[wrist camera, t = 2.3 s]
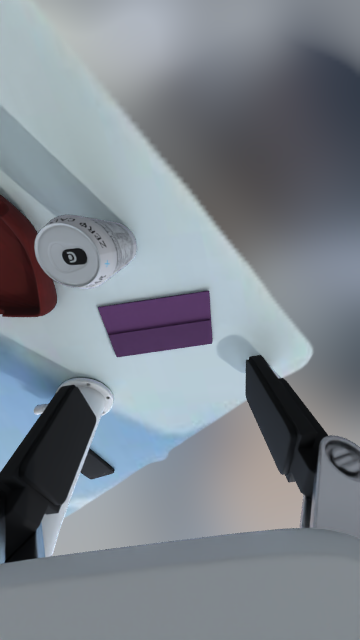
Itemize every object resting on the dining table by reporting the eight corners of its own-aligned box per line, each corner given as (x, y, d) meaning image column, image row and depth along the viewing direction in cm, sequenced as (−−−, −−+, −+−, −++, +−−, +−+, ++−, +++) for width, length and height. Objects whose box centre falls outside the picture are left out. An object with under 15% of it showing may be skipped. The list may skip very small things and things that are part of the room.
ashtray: (30, 332, 33) (9, 348, 29) (-70, 262, 27) (-118, 268, 22) (93, 272, 29) (79, 280, 24) (-9, 172, 23) (-53, 157, 18)
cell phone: (80, 440, 49) (78, 444, 48) (115, 469, 57) (114, 473, 56) (54, 449, 50) (52, 452, 49) (91, 476, 58) (90, 479, 57)
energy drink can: (93, 224, 26) (9, 216, 12) (134, 220, 26) (95, 209, 12) (104, 266, 28) (45, 297, 15) (141, 263, 28) (115, 291, 15)
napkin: (116, 355, 36) (115, 357, 36) (98, 307, 31) (96, 308, 31) (212, 341, 36) (212, 343, 35) (208, 290, 31) (209, 291, 30)
